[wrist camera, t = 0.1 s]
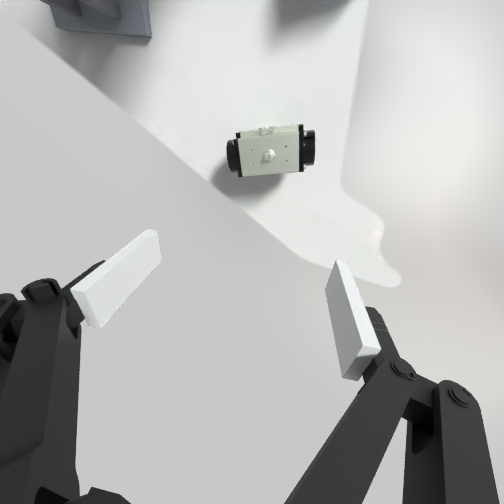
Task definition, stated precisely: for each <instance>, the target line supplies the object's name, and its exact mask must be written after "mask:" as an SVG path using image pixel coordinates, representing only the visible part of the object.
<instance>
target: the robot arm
mask: <svg viewBox="0 0 504 504" xmlns="http://www.w3.org/2000/svg"><path fill="white" fill-rule="evenodd" d="M161 261H162V257H161V252H160V245H159V240H158V234H157V231H156V230H150V229H147V230H146V231H144V232H143V233H141V234H140V235H139V236H138V237H137V238H135V239H134V240H132V241H131V242H130V243H129V244H127V245H126V246H125V247H123V248H122V249H121V250H120V251H118V252H117V253H116V254H115V255H113V256H112V257H111V258H109V259H108V260H107V261H105V260H103V261H101V262H99V263H96V264H95V265H93V266H92V267H91V268H89V269H88V270H87V271H85V272H84V273H82V275H80V276H78V277H77V278H76V279H74V280H73V281H72V282H70V283H69V284H68V285H66V286H65V287H64V288H62V289H61V288H60V286H59V284H58V282H57V281H56V280H55V279H51V278H46V279H41V280H37V281H34V282H32V283H30V284H28V285H26V286H25V287H24V288H23V289H22V290H21V293H22V294H23V296H24V297H25V299H26V300H19V301H18V300H17V299H16V297H15V296H14V295H13V294H10V293H5V294H0V504H131V503H129V502H128V501H127V500H126V499H125V498H123V497H122V496H121V495H120V494H116V493H112V492H109V491H105V490H101V489H97V488H94V487H91V489H90V491H89V493H88V494H86V495H83V496H80V491H79V480H78V476H77V473H76V468H75V458H76V457H75V456H76V436H77V434H76V433H77V414H78V392H79V371H80V348H81V325H80V322H82V321H83V320H84V319H85V320H86V322H87V324H88V325H89V326H93V327H98V328H102V327H103V326H104V324H105V323H106V322H107V321H108V320H109V319H110V318H111V317H112V316H113V314H114V313H115V312H116V311H117V310H118V309H119V308H120V307H121V306H122V304H123V303H124V302H125V301H126V300H127V299H128V298H129V297H130V296H131V295H132V293H133V292H134V291H135V290H136V289H137V288H138V287H139V286H140V285H141V284H142V282H143V281H144V280H145V279H146V278H147V277H148V276H149V275H150V274H151V272H152V271H153V270H154V269H155V268H156V267H157V266H158V264H160V262H161ZM325 292H326V297H327V302H328V307H329V312H330V317H331V322H332V327H333V332H334V338H335V343H336V348H337V353H338V358H339V363H340V368H341V374H342V378H345V379H350V380H355V381H358V380H359V379H360V377H361V376H362V375H363V379H364V382H365V384H364V385H363V387H362V388H361V389H360V390H359V392H358V393H357V396H356V397H355V399H354V400H353V402H352V403H351V405H350V406H349V408H348V409H347V410H346V412H345V413H344V415H343V416H342V418H341V419H340V421H339V423H338V424H337V425H336V427H335V428H334V430H333V431H332V433H331V434H330V436H329V437H328V439H327V440H326V442H325V443H324V445H323V446H322V448H321V449H320V451H319V452H318V454H317V455H316V457H315V458H314V460H313V461H312V463H311V464H310V466H309V467H308V469H307V470H306V472H305V473H304V475H303V476H302V478H301V479H300V481H299V482H298V484H297V485H296V487H295V488H294V490H293V491H292V493H291V494H290V496H289V497H288V498H287V500H286V502H285V503H284V504H362V502H363V500H364V498H365V496H366V494H367V491H368V489H369V487H370V485H371V482H372V480H373V478H374V476H375V474H376V472H377V469H378V467H379V465H380V462H381V461H382V458H383V456H384V454H385V452H386V450H387V447H388V445H389V443H390V441H391V439H392V436H393V434H394V432H395V430H396V427H397V425H398V423H399V421H400V418H401V417H403V418H404V419H406V420H407V436H406V452H405V469H404V486H403V487H404V488H403V503H402V504H499V499H498V494H497V489H496V484H495V479H494V474H493V469H492V464H491V459H490V455H489V450H488V444H487V439H486V434H485V429H484V424H483V419H482V415H481V410H480V407H479V404H478V402H477V401H476V399H475V398H474V397H473V396H472V394H471V393H470V392H468V391H467V390H466V389H465V388H464V387H462V386H460V385H459V384H458V383H455V382H453V381H450V380H443V381H441V382H440V383H439V384H437V383H435V382H433V381H430V380H428V379H426V378H424V377H422V376H420V375H418V374H416V372H415V370H414V369H413V368H412V366H411V365H410V364H409V363H408V362H406V361H405V360H404V359H401V358H400V356H399V354H398V352H397V349H396V347H395V345H394V343H393V340H392V338H391V336H390V334H389V332H388V329H387V327H386V325H385V323H384V321H383V318H382V316H381V315H380V314H379V313H378V312H377V310H376V309H375V308H372V307H366V306H364V303H363V301H362V298H361V296H360V293H359V290H358V288H357V285H356V283H355V280H354V277H353V275H352V272H351V270H350V267H349V264H348V262H347V261H341V260H336V262H335V264H334V267H333V269H332V272H331V275H330V277H329V280H328V282H327V285H326V288H325Z"/></svg>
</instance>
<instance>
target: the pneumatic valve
mask: <svg viewBox="0 0 504 504" xmlns="http://www.w3.org/2000/svg"><path fill="white" fill-rule="evenodd" d="M314 159H315V131H314V130H308V131H305V130H303V124H297V125H290V126H282V127H276V126H273V127H270V128H266V129H265V128H259V129H258V130H251V131H243V132H238V133H236V139H233V140H228V142H227V160H228V165H229V168H230V170H231V171H232V172H237V174H238V177H247V176H258V175H270V174H282V173H293V172H304V169H306V166H310V165H314Z"/></svg>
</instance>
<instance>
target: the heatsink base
mask: <svg viewBox="0 0 504 504" xmlns="http://www.w3.org/2000/svg"><path fill="white" fill-rule="evenodd" d="M40 1H42V2H44V3H47V4H49V5H50V7H51V10H52V14H53V17H54V20H55V24H56V27H59V28H61V29H64V30H71V31H83V32H95V33H107V34H119V35H132V36H144V37H152V34H151V26H150V18H149V9H148V1H147V0H40Z"/></svg>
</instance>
